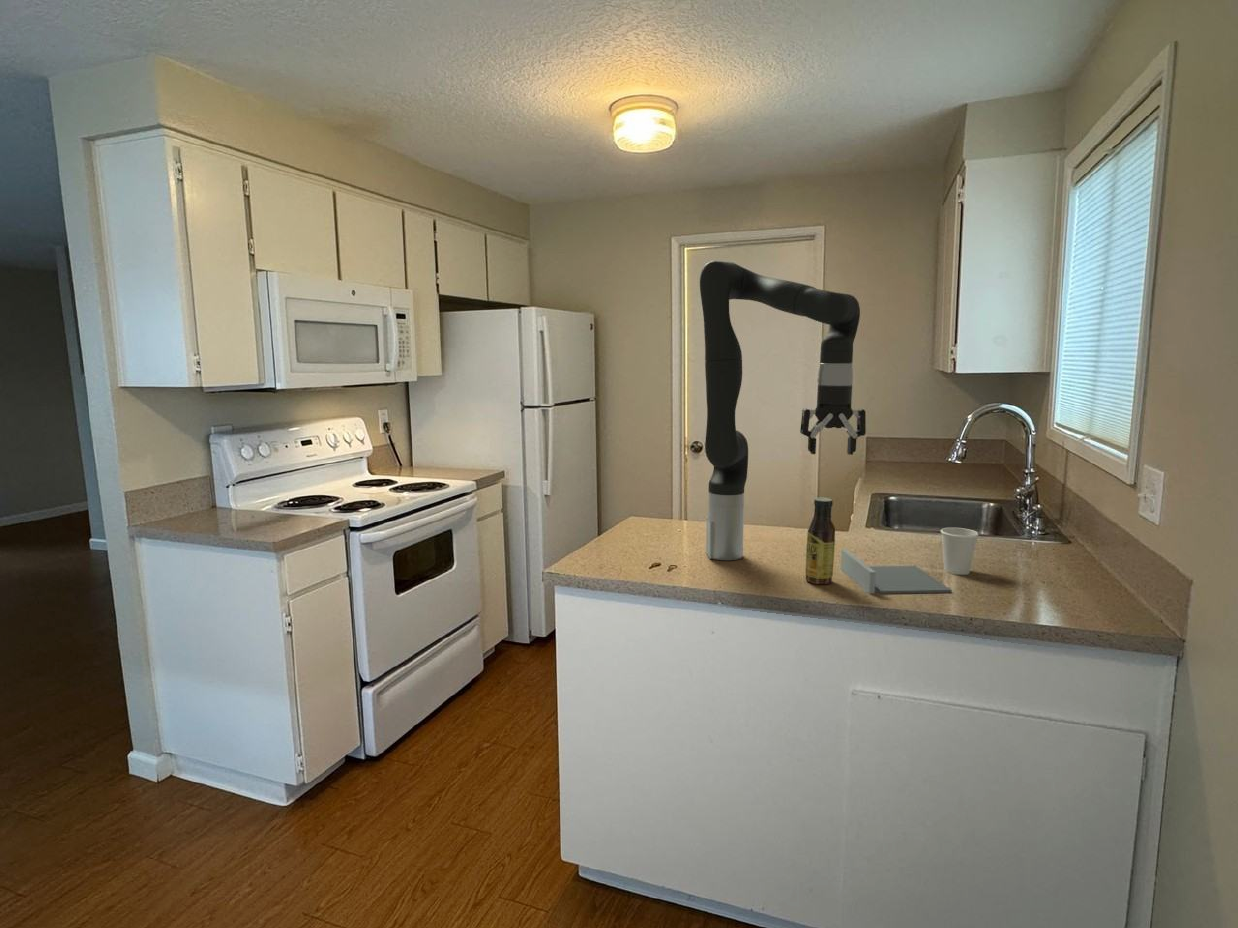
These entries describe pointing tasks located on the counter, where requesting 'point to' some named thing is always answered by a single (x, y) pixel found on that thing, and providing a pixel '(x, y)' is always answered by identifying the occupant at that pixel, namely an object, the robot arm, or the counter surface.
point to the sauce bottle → (820, 544)
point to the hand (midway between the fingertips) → (831, 454)
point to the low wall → (858, 571)
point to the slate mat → (906, 580)
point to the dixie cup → (958, 549)
